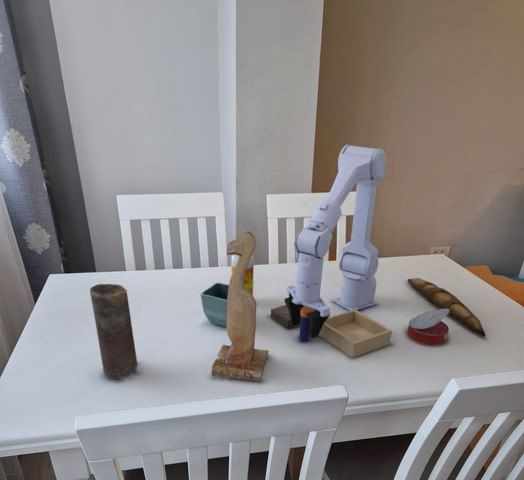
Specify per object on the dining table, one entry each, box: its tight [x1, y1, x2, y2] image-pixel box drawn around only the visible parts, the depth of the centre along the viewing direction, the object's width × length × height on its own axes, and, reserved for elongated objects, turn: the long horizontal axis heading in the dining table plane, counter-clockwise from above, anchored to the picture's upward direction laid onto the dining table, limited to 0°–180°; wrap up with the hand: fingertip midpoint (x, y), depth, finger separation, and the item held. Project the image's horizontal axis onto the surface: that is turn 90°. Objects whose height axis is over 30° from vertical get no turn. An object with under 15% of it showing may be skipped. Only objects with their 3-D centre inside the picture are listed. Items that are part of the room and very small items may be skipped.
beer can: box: [230, 254, 255, 296], centre depth 133 cm, size 6×6×15 cm
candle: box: [89, 283, 138, 380], centre depth 101 cm, size 8×7×20 cm
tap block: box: [270, 304, 314, 330], centre depth 129 cm, size 11×8×3 cm
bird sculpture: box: [210, 230, 270, 382], centre depth 101 cm, size 11×12×32 cm
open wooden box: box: [318, 309, 393, 359], centre depth 120 cm, size 13×14×4 cm
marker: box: [298, 307, 312, 343], centre depth 118 cm, size 3×3×8 cm
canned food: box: [406, 308, 450, 346], centre depth 122 cm, size 11×10×10 cm
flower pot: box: [200, 282, 229, 328], centre depth 125 cm, size 9×9×9 cm
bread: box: [407, 277, 487, 337], centre depth 137 cm, size 38×5×5 cm, turn 16°
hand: (304, 330), depth 119 cm, fingers open, 7 cm apart
